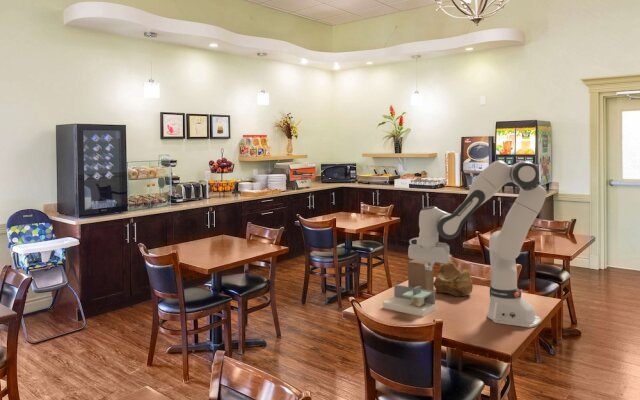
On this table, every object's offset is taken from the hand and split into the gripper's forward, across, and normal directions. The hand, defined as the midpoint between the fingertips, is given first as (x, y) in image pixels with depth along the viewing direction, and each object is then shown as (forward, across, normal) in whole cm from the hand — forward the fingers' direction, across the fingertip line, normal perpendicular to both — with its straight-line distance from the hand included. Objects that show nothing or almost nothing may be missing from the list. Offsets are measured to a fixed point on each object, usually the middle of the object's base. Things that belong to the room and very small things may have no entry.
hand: (428, 270), depth 231 cm
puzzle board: (+21, +11, 0) cm, 23 cm away
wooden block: (+21, +14, -18) cm, 31 cm away
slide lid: (+13, +6, +1) cm, 14 cm away
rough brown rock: (+21, +7, -36) cm, 42 cm away
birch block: (+21, +6, 0) cm, 22 cm away
